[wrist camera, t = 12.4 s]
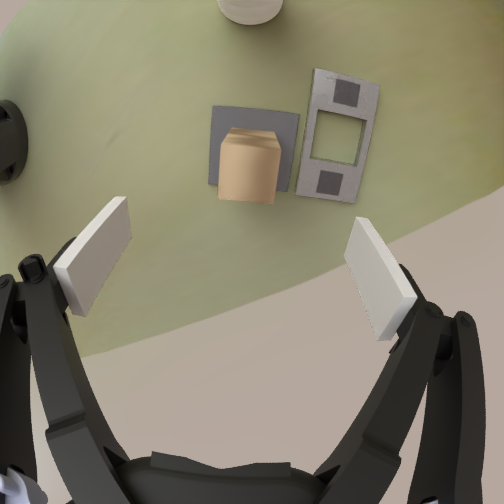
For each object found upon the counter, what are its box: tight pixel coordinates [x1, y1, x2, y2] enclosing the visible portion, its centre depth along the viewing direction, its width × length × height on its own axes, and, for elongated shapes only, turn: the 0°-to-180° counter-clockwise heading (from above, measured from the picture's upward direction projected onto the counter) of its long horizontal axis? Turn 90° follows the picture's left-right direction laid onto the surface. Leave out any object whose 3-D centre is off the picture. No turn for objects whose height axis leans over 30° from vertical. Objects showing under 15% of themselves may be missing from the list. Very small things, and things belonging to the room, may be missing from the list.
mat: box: [208, 106, 299, 192], centre depth 31 cm, size 10×10×1 cm
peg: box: [218, 128, 281, 204], centre depth 27 cm, size 5×5×10 cm
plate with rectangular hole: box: [295, 68, 380, 203], centre depth 30 cm, size 8×16×1 cm, turn 174°
